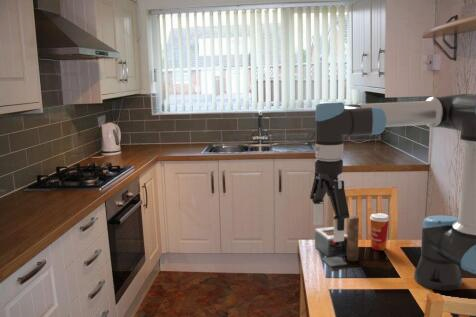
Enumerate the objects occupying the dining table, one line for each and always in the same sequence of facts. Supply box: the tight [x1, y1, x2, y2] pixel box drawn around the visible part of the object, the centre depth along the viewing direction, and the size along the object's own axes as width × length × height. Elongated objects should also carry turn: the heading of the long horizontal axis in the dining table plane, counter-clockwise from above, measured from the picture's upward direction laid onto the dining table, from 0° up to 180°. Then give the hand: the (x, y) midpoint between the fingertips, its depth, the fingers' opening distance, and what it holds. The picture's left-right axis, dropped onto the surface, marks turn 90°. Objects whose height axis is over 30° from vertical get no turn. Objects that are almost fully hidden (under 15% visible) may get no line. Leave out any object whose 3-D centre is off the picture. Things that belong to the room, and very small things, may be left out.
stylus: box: [346, 215, 360, 262], centre depth 171 cm, size 4×4×17 cm
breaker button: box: [327, 234, 337, 246], centre depth 180 cm, size 4×4×3 cm
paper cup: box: [369, 212, 390, 251], centre depth 182 cm, size 8×8×14 cm
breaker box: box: [314, 226, 348, 258], centre depth 180 cm, size 12×9×8 cm
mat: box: [321, 256, 348, 268], centre depth 170 cm, size 7×7×1 cm
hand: (327, 232), depth 124 cm, fingers open, 13 cm apart
